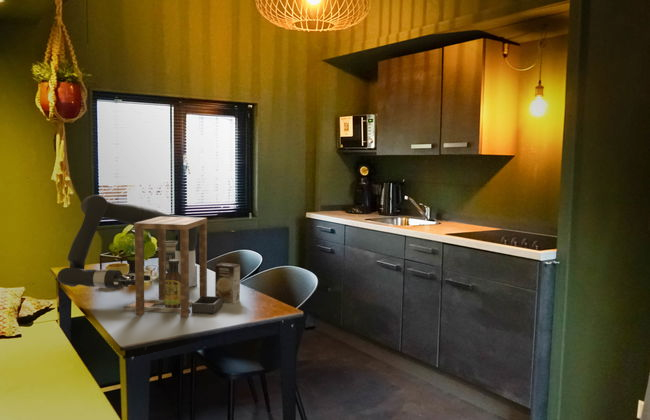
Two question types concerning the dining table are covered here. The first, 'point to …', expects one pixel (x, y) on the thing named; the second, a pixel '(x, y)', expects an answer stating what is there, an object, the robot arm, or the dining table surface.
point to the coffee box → (227, 282)
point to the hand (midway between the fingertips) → (145, 280)
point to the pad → (144, 304)
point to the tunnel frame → (162, 225)
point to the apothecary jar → (170, 253)
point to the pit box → (207, 305)
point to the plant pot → (119, 267)
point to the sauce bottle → (173, 286)
